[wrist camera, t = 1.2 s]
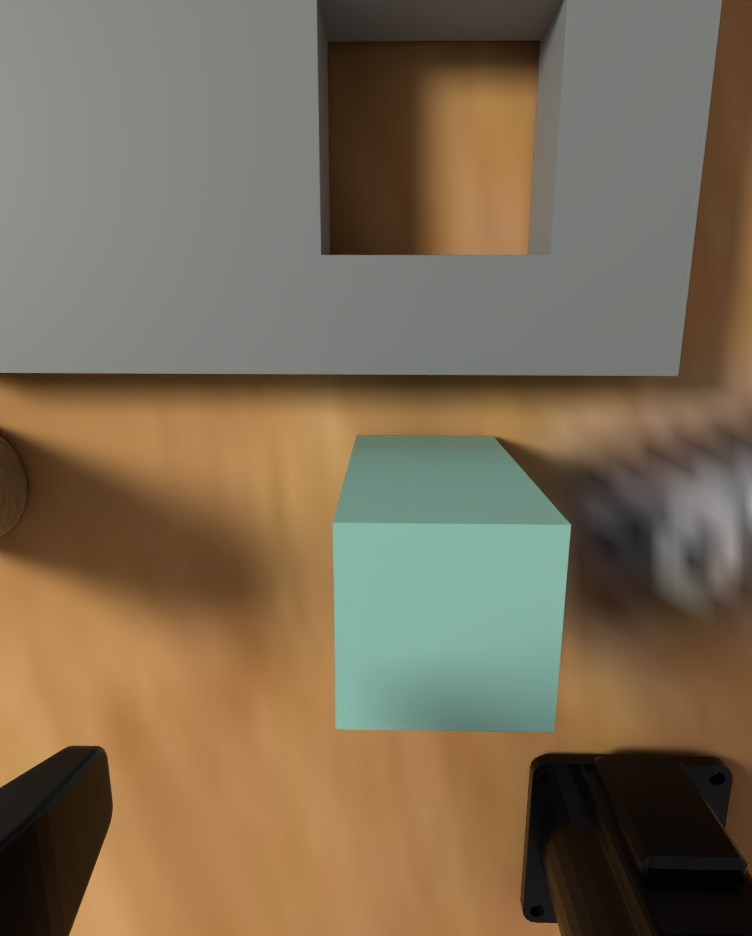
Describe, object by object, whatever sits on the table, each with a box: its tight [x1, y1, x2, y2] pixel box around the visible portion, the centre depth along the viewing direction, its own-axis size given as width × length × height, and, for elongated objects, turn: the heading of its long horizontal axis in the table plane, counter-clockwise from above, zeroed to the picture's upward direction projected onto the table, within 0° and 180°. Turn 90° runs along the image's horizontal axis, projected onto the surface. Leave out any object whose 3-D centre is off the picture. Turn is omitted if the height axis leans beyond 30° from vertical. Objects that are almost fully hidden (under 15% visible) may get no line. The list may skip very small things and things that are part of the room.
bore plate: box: [0, 0, 722, 376], centre depth 15 cm, size 11×20×2 cm, turn 90°
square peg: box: [333, 435, 571, 733], centre depth 15 cm, size 4×4×8 cm
